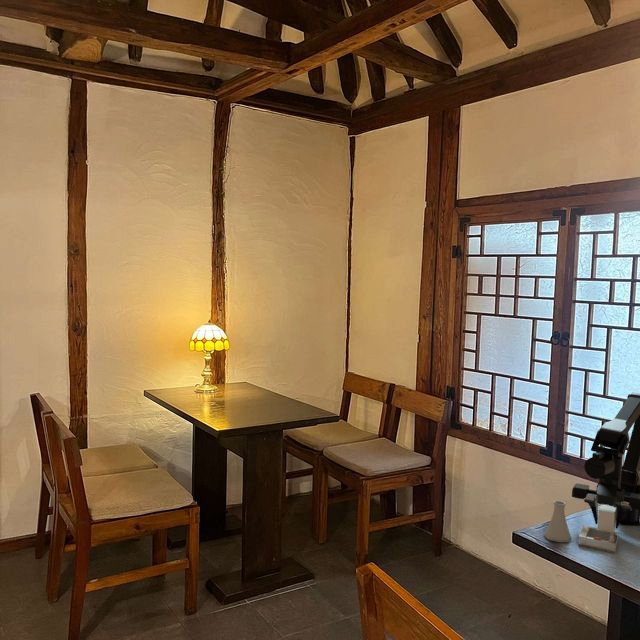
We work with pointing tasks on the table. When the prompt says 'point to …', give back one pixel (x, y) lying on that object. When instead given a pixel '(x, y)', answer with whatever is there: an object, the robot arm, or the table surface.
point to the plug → (607, 518)
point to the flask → (558, 525)
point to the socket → (598, 539)
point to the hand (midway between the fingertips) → (606, 526)
